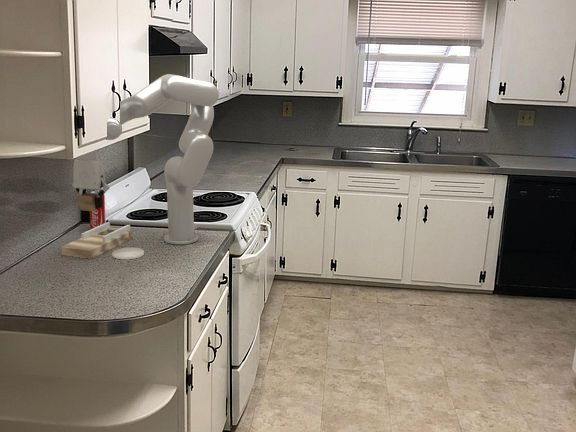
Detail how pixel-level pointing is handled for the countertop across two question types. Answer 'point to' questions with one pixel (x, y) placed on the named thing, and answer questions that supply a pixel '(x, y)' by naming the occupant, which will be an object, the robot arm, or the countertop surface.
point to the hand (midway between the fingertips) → (92, 206)
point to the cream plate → (128, 253)
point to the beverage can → (97, 215)
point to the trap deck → (97, 241)
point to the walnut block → (87, 201)
